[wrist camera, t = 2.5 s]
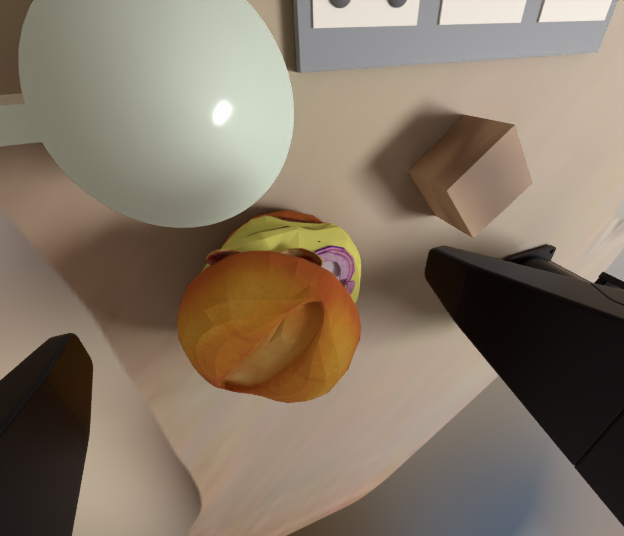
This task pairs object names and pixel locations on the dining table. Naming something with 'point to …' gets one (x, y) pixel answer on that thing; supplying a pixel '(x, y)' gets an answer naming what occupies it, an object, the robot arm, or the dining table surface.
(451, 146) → the brown wooden block
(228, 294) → the cheeseburger
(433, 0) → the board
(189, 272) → the dining table surface
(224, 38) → the mug
